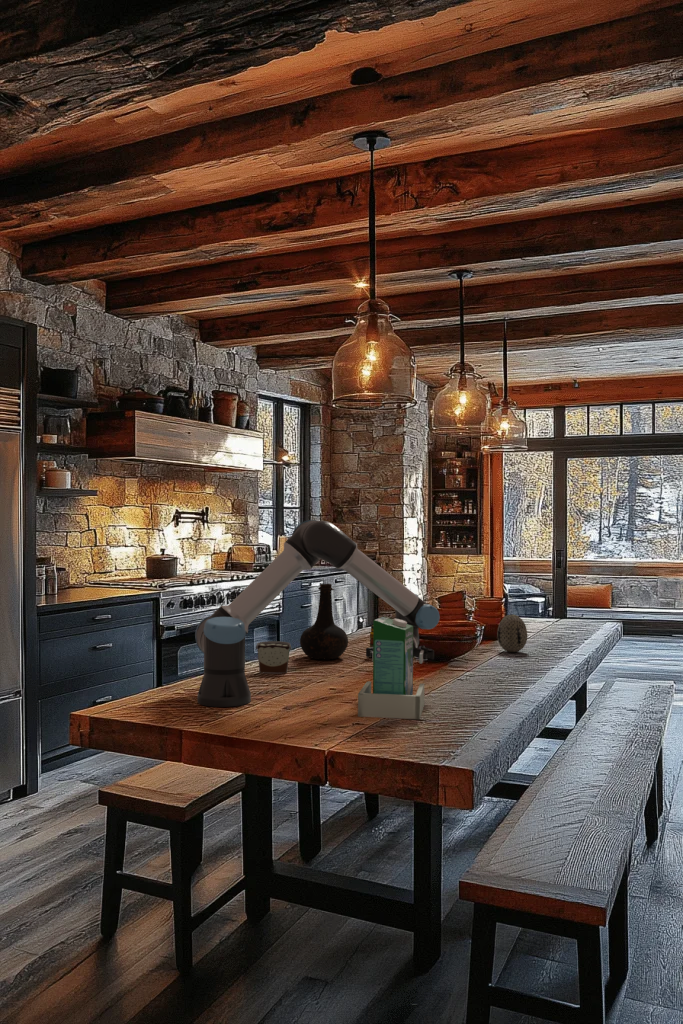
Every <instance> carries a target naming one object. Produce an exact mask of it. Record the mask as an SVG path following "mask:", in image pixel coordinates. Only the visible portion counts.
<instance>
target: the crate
mask: <svg viewBox="0 0 683 1024" xmlns="http://www.w3.org/2000/svg"><path fill="white" fill-rule="evenodd" d="M415 693H416V694H413V695H396V694H373V692H372V681H370V680H369V681H368V680H367V681H366V682H365V684H364V685H363V687H362V688H361V689H360V690H359V692H358V693H357V717H359V718H360V717H364V718H366V717H367V718H380V719H381V718H384V719H385V718H386V719H402V720H404V719H405V720H421V717H422V714H423V711H424V708H423V707H425V683H419V685H418V688H417V691H416V692H415Z"/></svg>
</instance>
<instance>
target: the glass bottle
mask: <svg viewBox="0 0 683 1024" xmlns="http://www.w3.org/2000/svg"><path fill="white" fill-rule="evenodd" d="M332 585H333V584H332V583H320V584H319V587H318V590H319V601H318V608H317V614H316V620H315V622H314V623H313V624H312V625H311V626H309V627H307V628H306V629H305V630H304V631H302V633H301V635H300V638H299V645H300V648H301V650H302V652H303V653H304V654H305V655H306V656H307V657H309V658H311V659H315V660H319V659H322V660H323V661H329V660H330V659H332V660H336V659H338V658H340V657H341V656H342V655H343V654H344V653H345V652H346V650H347V647H348V646H349V645H348V644H349V638H348V634H347V633H346V631H345V630H344V629H343V628H341V627H340V626H338V625H336V623H335V620H334V614H333V600H332V599H333V598H332V591H333V590H335V588H334V587H332ZM322 660H321V661H322Z"/></svg>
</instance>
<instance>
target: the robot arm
mask: <svg viewBox="0 0 683 1024" xmlns="http://www.w3.org/2000/svg"><path fill="white" fill-rule="evenodd" d="M320 560H321V561H325V562H327V563H328V564H329V565H332V566H333V567H334V568H335V569H337V570H340V569H342V570H343V571H345V572H346V573H348V574H349V575H350V576H352V577H353V578H354V579H355V580H356V581H358V582H359V583H361V584H362V585H363V586H364V587H366V588H367V589H368V590H369V591H371V592H372V593H373V594H374V595H375V596H377V597H379V598H380V599H381V600H383V601H384V602H385V603H386V604H387V605H389V606H390V607H391V608H393V609H394V610H395V613H394V614H395V619H400V620H404V621H406V622H407V624H408V625H411V626H413V658H418V659H419V662H418V663H419V664H421V665H422V664H423V663H424V660H428V659H430V660H434V659H435V650H434V649H432V648H428V647H425V645H420V636H419V630H420V629H421V630H432V629H434V628H436V627H437V625H438V624H439V623H440V619H441V618H440V612H439V610H438V609H437V608H436V607H435V606H434V605H432V604H429V603H427V602H425V601H424V600H423V599H422V598H421V597H419V595H418V594H417V593H414V592H413V591H412V590H411V589H409V588H408V587H407V586H405V585H404V584H403V583H402V582H400V580H398V579H396V578H395V577H394V576H393V575H392V574H390V573H389V572H388V571H386V570H385V569H384V568H383V567H381V566H380V565H379V564H377V563H376V562H375V561H374V560H373V559H371V558H370V557H369V556H367V555H366V554H365V553H364V552H363V551H361V549H359V548H358V543H357V542H355V541H354V540H353V539H352V538H351V537H349V536H348V535H347V534H346V533H345V532H344V531H342V530H341V529H340V528H339V527H337V526H336V525H335V524H333V523H332V522H330V521H326V520H317V519H309V520H305V521H302V522H300V523H299V524H298V525H297V526H296V527H295V528H294V529H293V531H292V534H291V536H290V537H288V538H287V540H285V542H284V543H283V550H282V552H280V554H279V555H277V557H276V558H275V559H273V561H271V563H270V564H269V565H267V566H266V568H264V569H263V571H261V572H260V573H259V575H258V576H256V577H255V578H254V579H253V580H252V581H251V582H250V583H249V584H248V585H247V587H246V588H244V589H243V590H242V591H241V592H240V593H239V594H238V595H237V596H236V597H235V598H234V599H233V600H232V601H231V602H230V603H229V604H227V605H220V606H219V607H218V608H217V609H216V610H215V611H214V612H213V613H212V614H211V615H208V616H206V617H205V618H203V619H202V620H201V621H200V622H199V623H198V624H197V627H196V628H195V633H194V636H195V644H196V645H197V648H198V649H199V651H201V652H202V653H203V677H202V679H201V683H200V686H199V689H198V692H197V696H196V697H197V698H196V699H197V704H199V705H202V706H204V707H205V706H206V707H213V708H214V707H215V708H216V707H218V708H225V707H226V708H227V707H228V708H229V707H238V706H243V705H247V704H249V703H250V702H251V701H252V697H251V696H252V694H251V691H250V686H249V683H248V680H247V677H246V663H245V662H246V635H247V634H248V633H249V626H250V624H251V623H252V622H253V621H254V620H255V619H256V618H257V617H258V616H259V615H260V614H261V613H262V612H264V610H265V609H266V608H267V607H268V606H269V605H270V604H271V603H272V602H273V601H274V600H275V599H276V598H277V597H278V596H279V595H280V594H281V593H282V592H283V591H284V590H285V589H286V588H287V587H288V586H289V584H291V583H292V582H293V581H294V580H295V579H296V578H297V577H298V576H299V575H300V574H301V573H302V572H303V571H307V570H311V569H312V568H314V566H315V565H317V564H318V563H319V561H320ZM419 628H420V629H419ZM419 645H420V646H419ZM365 657H366V658H369V657H372V658H371V660H372V661H371V662H372V663H373V647H370V646H369V647H367V648H365Z"/></svg>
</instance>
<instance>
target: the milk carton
mask: <svg viewBox="0 0 683 1024" xmlns="http://www.w3.org/2000/svg"><path fill="white" fill-rule="evenodd" d="M372 625H373V662H372V693H373V694H396V695H414V692H413V691H414V690H413V689H414V688H413V686H414V657H413V626H411V625H408V624H407V622H406V621H404V620H400V619H396V618H389V617H385V616H381V617H378V618H376V619H374V620H373V624H372Z"/></svg>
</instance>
